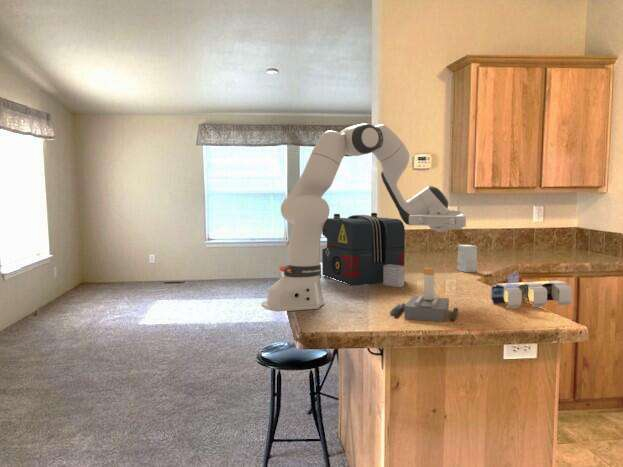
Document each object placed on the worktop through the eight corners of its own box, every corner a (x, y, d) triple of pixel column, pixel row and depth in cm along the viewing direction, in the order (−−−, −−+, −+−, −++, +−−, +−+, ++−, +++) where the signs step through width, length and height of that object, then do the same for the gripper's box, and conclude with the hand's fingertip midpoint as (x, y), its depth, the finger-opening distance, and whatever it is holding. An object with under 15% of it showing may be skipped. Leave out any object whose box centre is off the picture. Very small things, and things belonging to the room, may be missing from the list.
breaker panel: (443, 321, 149) (444, 305, 149) (404, 318, 154) (404, 302, 153) (448, 310, 164) (448, 295, 164) (412, 307, 168) (412, 293, 168)
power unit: (404, 280, 220) (405, 214, 217) (351, 286, 208) (352, 215, 205) (370, 272, 245) (371, 212, 242) (321, 276, 233) (321, 213, 230)
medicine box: (404, 286, 207) (404, 265, 207) (398, 287, 204) (398, 267, 203) (388, 283, 213) (389, 264, 212) (382, 285, 209) (383, 265, 209)
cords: (454, 322, 148) (454, 317, 148) (387, 316, 156) (387, 312, 156) (458, 310, 163) (458, 306, 163) (397, 305, 170) (397, 301, 170)
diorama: (508, 310, 165) (509, 272, 164) (490, 303, 175) (491, 267, 174) (571, 306, 171) (573, 269, 169) (551, 300, 181) (552, 265, 179)
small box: (476, 272, 243) (477, 246, 242) (465, 272, 241) (465, 246, 240) (468, 269, 251) (468, 244, 250) (457, 270, 249) (457, 244, 248)
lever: (433, 300, 160) (433, 269, 159) (423, 299, 161) (423, 268, 160) (434, 298, 163) (435, 267, 162) (424, 297, 164) (425, 267, 163)
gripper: (411, 210, 188) (405, 212, 175) (467, 211, 180) (465, 213, 167) (411, 227, 188) (404, 229, 175) (467, 228, 181) (464, 231, 168)
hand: (434, 221), depth 171 cm, fingers open, 8 cm apart
